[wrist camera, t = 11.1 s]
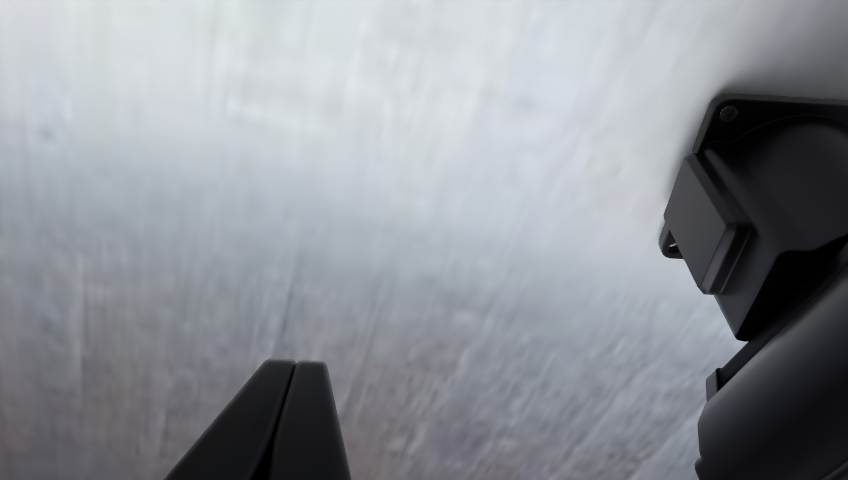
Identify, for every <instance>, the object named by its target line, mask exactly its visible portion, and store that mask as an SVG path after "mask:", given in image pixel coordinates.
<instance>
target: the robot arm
mask: <svg viewBox="0 0 848 480" xmlns="http://www.w3.org/2000/svg"><path fill="white" fill-rule="evenodd" d="M728 106H732V108H731V110H730V111H729V112H728V113H727V114H725V115H720V112H721V111H722V109H724V108H725V107H728ZM664 219H665V221H666V223H665V226H664V229H663V231H662V234H661V237H660V239H659V247H660V249H661V251H662V253H663V255H664V256H666V257H668V258H676V259H684V260H685V262H686V264H687V266H688V268H689V270H690V272H691V274H692V276H693V278H694V280H695V282H696V285H697V287H698V288H699V289H700V290H701V291H702V293H703V294H708V295H714V297H715V299H716V301H717V302H718V304H719V306H720V308H721V310H722V312H723V314H724V316H725V318H726V320H727V322H728V324H729V326H730V328H731V330H732V332H733V334H734V336H735V338H736V339H737V340H740V341H749V342H748V343H747V344H746V345H745V346H744V347H743V348H742V349H741V350H740V351H739V352H738V353H737V354H736V355H735V356H734V357H733V358H732V359H731V360H730V361H729V362H728V363H727V364H726V365H725V366H724V367H723V368H717V369H716V370H715V371H714V372H713V373H712V374H711V375H710V376H709V377H708V378H707V380H706V394H707V403H706V404H705V406H704V409H703V411H702V414H701V416H700V419H699V421H698V437H699V450H700V455H701V457H700V458H699V459H698V460H697V461H696V463H695V470H696V473H697V475H698V478H699V480H848V100H831V99H814V98H798V97H781V96H764V95H747V94H731V93H728V94H722V95H720V96H718V97H716V98H715V99H714V100H713V101H711V103H710V105H709V107H708V109H707V112H706V115H705V117H704V120H703V123H702V125H701V128H700V131H699V134H698V136H697V139H696V142H695V144H694V147H693V150H692V153H690V154H689V155H688V156H687V157H686V158H684V160H683V163H682V166H681V168H680V171H679V174H678V177H677V179H676V182H675V185H674V188H673V190H672V193H671V196H670V199H669V201H668V204H667V207H666V210H665V212H664ZM673 243H677V245H675V246H671V247H669V246H670V245H671V244H673ZM164 480H351V476H350V471H349V466H348V462H347V457H346V452H345V448H344V443H343V438H342V434H341V429H340V424H339V420H338V415H337V410H336V406H335V401H334V396H333V392H332V387H331V382H330V378H329V373H328V369H327V365H326V363H325V362H323V361H312V360H300V361H298V363H296V361H294V360H292V359H274V358H272V359H268V360H266V361H265V362H264V363H263V364H262V365H261V366H260V367H259V369H258V370H257V371H256V372H255V373H254V374H253V376H252V377H251V378H250V379H249V380H248V381H247V383H246V384H245V385H244V386H243V387H242V389H241V390H240V391H239V392H238V393H237V394H236V396H235V397H234V398H233V399H232V400H231V401H230V403H229V404H228V405H227V406H226V407H225V408H224V410H223V411H222V412H221V413H220V414H219V415H218V417H217V418H216V419H215V420H214V421H213V422H212V424H211V425H210V426H209V427H208V428H207V429H206V431H205V432H204V433H203V434H202V435H201V437H200V438H199V439H198V440H197V441H196V442H195V444H194V445H193V446H192V447H191V448H190V449H189V451H188V452H187V453H186V454H185V455H184V456H183V458H182V459H181V460H180V461H179V462H178V463H177V465H176V466H175V467H174V468H173V469H172V470H171V472H170V473H169V474H168V475H167V476H166V477H165V479H164Z"/></svg>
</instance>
